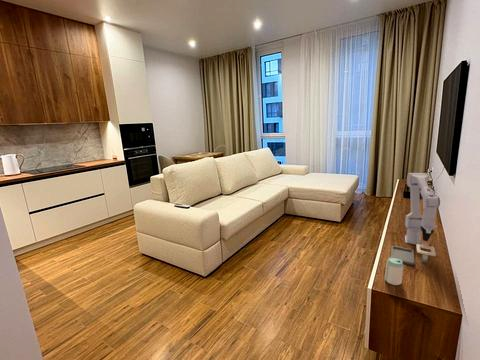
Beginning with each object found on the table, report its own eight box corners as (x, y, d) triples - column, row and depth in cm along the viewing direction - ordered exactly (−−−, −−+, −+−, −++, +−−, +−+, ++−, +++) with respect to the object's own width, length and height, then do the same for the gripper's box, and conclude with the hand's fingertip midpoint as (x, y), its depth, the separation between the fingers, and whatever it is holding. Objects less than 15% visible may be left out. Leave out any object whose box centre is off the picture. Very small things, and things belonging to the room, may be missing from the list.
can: (395, 276, 130) (397, 255, 127) (404, 285, 123) (407, 263, 120) (381, 277, 130) (384, 256, 127) (390, 286, 123) (392, 264, 120)
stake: (421, 260, 142) (422, 250, 141) (426, 261, 141) (428, 252, 140) (421, 263, 139) (423, 254, 138) (427, 264, 138) (428, 255, 137)
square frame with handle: (415, 242, 147) (417, 233, 145) (433, 245, 143) (434, 235, 141) (417, 252, 138) (418, 242, 136) (435, 256, 133) (437, 246, 132)
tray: (391, 247, 156) (391, 245, 156) (412, 251, 151) (413, 249, 150) (390, 260, 144) (391, 258, 143) (414, 265, 138) (414, 263, 138)
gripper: (439, 223, 132) (435, 247, 136) (436, 213, 144) (432, 235, 148) (423, 221, 136) (419, 244, 139) (421, 211, 148) (417, 233, 151)
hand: (425, 239), depth 144 cm, fingers closed on square frame with handle
